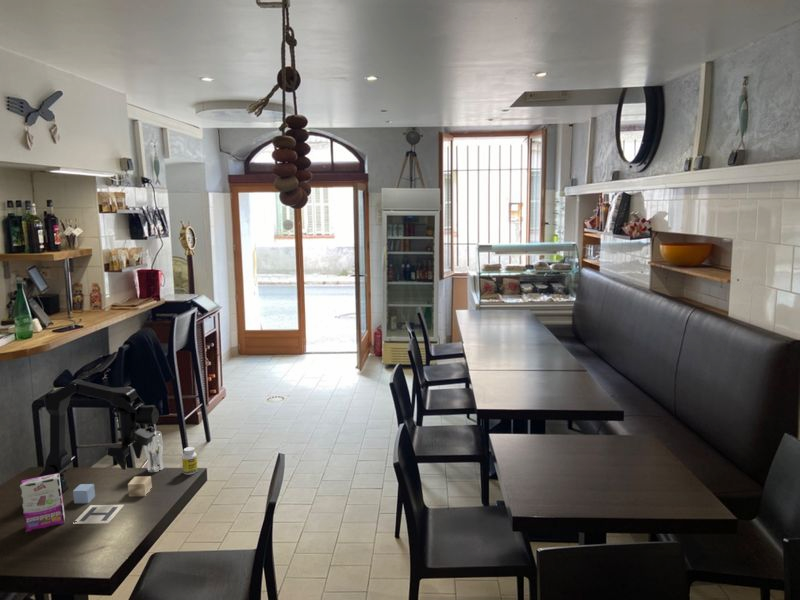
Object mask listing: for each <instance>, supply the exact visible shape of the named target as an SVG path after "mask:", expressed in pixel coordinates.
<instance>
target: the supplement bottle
mask: <svg viewBox="0 0 800 600" xmlns="http://www.w3.org/2000/svg"><path fill="white" fill-rule="evenodd" d="M181 458H182V473H183V474H184V475H186V476H187V475H194V474H196V473H197V472H198V457H197V453H196V452H195V447H193V446H188V447H185V448H184V449H183V454H182V457H181Z"/></svg>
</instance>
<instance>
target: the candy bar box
mask: <svg viewBox="0 0 800 600" xmlns="http://www.w3.org/2000/svg"><path fill="white" fill-rule="evenodd" d="M19 492H20V496H21V497H20V498H21V506H22V512H23V519H24V526H25V527H24V528H25V532H26V533H29V532H33V531H37V530H42V529H47V528H49V527H50V526H51V527H54V526H59V525H63V523H64V524H65V519H66V514H65V507H64V500H63V499H64V498H63V493H62V490H61V482H60V475H59V473H57V474H52V475H46V476H42V477H38V476H37V477H31V478H28V479H23V480H21V481H20V485H19ZM46 527H47V528H46ZM41 528H42V529H41ZM28 531H29V532H28Z"/></svg>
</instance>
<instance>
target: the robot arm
mask: <svg viewBox="0 0 800 600" xmlns="http://www.w3.org/2000/svg"><path fill="white" fill-rule="evenodd" d="M74 394H79V395H84V396H88V397H92V398H97V399H101V400H105V401H107V402H109V403H110V404H111V405H113V406H114V407H115V408H114V409H113V410H112V413H113V414H115V413H117V414H118V419H119V422H118V423H119V427H117V431H118V432H119V434H120V437H119V438H118V439H117V441H118V442H117V443H114V444H112V445H110V446H109V447H108V448H107V450H106V453H107V456H110V457H112V458H113V459H114V460H115V461H116V463H117V464H118V465H119V466H120V468H121V469H122V470H126V469H127V456H128V455H129V454H130V453H131V452H130V447H129V446H131V445H132V449H133V451H134V455H135V457H136V459H140V458H141V456H142V453H143V449H144V448H143V447H144V446H146V445H148V444H149V443H150V442H152V438H153V437H154V436H155V431H156V430H155V427H153V426H149V427H147V428H142V427H141V425H156V424H157V423H158V422H159V419H160V418H159V417H160V412H159V409H158V408H156V405H155V404H151V405H146V404H145V402H144V401H143V400H142V398H141V397H140V396H139V394H138V393H137V390H136V389H135V388H133V387H126V386H123V387H122V386H121V387H112V386H111V387H110V386H106V385H103V384H98V383H94V382H90V381H85V380H82V379H80V378H79V379H78V378H77V379H74V380H73V381H71V382H69V383H68V384H67V385H65V386H64V387H58V388H57V389H55V390H53V391H51V392H49V393H47V394H46V395H45V396H44V399H43V402H44V408H45V410H46V411H47V413H48V414H49V452H48V455H47V457H46V460H45V464H44V470H43V471H42V472H41V473H40V474H39V475H38V476H37V477H42V476H46V475H52V474H57V473H59V475H60V482H61V490H62V494H64V492H66V491H67V490H68V489H69V486H68V485H67V479H66V478H65V473H67V469H68V468H69V467H70V465H71V464H72V463H73V461H72V455H73V454H72V452H68V451H67V450H66V411H67V410H68V407H69V406H70V401H71V397H72V396H73V395H74ZM133 403H134V404H133ZM132 404H133V405H132ZM119 442H121V443H119Z"/></svg>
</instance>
